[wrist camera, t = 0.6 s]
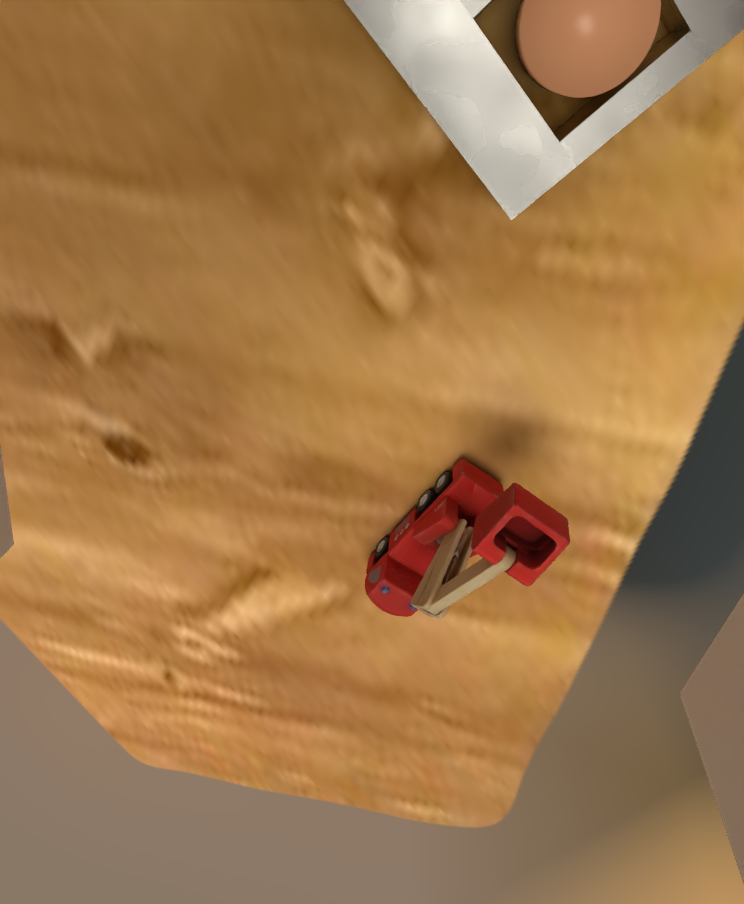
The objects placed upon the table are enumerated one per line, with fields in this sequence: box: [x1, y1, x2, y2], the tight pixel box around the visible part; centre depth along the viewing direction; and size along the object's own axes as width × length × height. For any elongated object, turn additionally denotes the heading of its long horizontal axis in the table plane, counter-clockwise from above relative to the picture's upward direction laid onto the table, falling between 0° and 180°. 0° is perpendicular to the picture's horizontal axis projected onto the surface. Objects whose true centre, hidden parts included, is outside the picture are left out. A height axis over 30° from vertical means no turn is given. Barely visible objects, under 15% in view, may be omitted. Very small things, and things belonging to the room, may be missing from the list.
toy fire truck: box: [365, 459, 570, 618], centre depth 35 cm, size 3×14×10 cm, turn 145°
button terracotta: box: [515, 0, 661, 98], centre depth 24 cm, size 5×5×3 cm
